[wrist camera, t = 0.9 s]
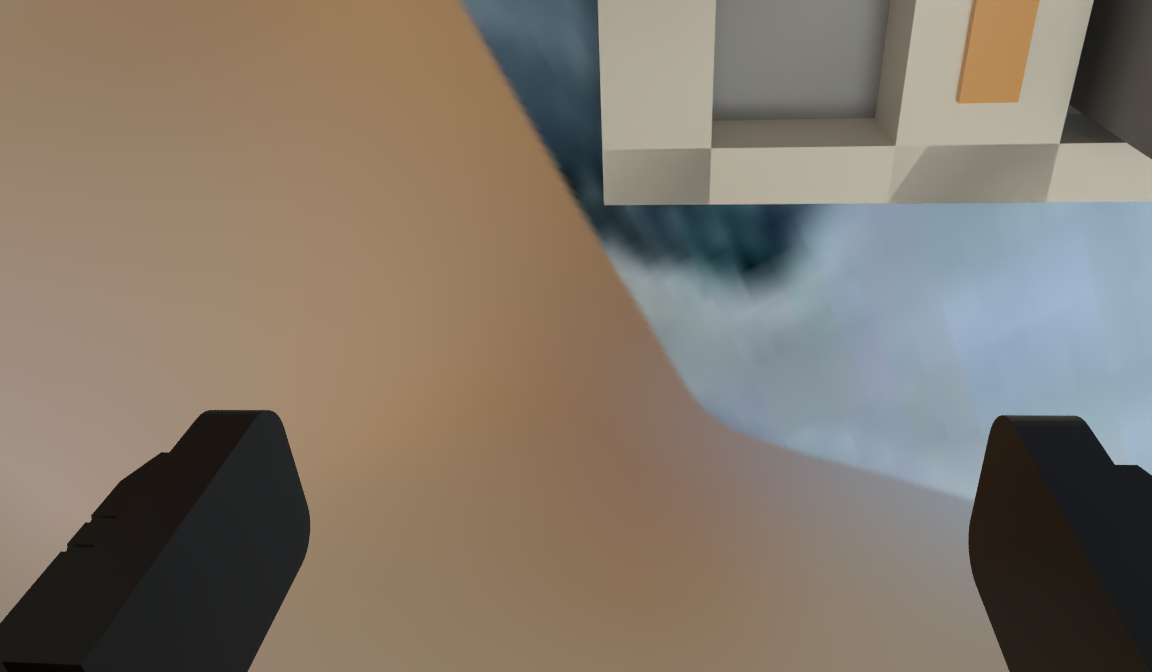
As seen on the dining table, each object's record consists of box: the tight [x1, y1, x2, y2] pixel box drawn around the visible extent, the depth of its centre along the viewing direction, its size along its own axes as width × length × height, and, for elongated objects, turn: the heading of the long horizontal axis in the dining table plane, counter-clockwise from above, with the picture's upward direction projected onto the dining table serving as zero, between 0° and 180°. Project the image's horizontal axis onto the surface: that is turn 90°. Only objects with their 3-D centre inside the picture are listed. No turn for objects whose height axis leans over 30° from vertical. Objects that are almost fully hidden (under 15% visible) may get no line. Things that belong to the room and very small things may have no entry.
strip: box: [598, 0, 1152, 205], centre depth 25 cm, size 22×9×4 cm, turn 93°
